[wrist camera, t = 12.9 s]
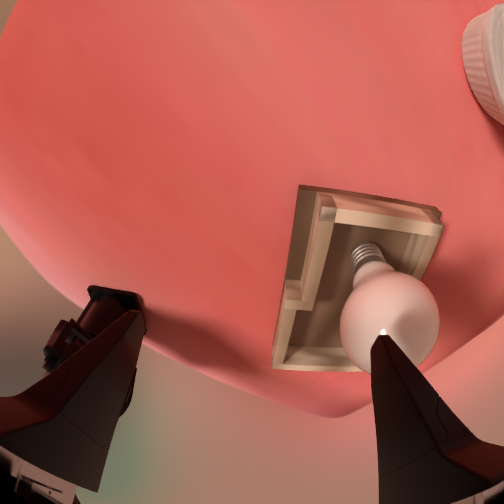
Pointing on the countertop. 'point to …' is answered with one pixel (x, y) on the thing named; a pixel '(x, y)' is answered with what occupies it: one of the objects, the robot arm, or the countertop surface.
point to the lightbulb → (386, 310)
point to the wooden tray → (341, 267)
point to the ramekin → (486, 60)
